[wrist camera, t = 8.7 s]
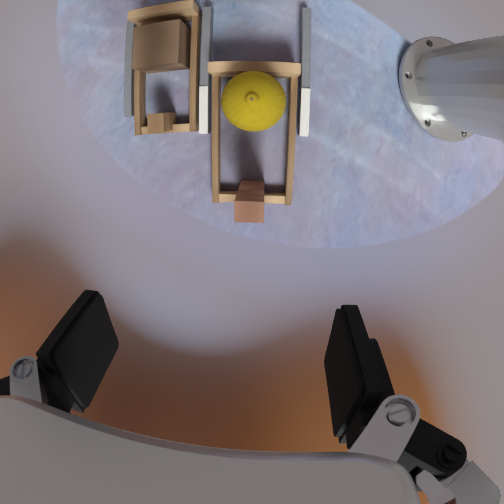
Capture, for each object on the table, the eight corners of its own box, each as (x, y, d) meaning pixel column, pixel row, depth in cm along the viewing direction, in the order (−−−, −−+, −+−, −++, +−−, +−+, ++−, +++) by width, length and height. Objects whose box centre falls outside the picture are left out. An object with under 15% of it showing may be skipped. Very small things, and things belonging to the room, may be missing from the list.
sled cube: (201, 12, 21) (193, -1, 18) (199, 130, 28) (189, 133, 24) (143, 20, 22) (128, 11, 18) (141, 134, 28) (124, 137, 24)
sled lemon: (296, 70, 24) (306, 56, 18) (289, 200, 31) (297, 227, 24) (215, 68, 25) (199, 54, 18) (215, 198, 31) (201, 223, 24)
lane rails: (308, 12, 21) (311, 7, 20) (305, 135, 27) (308, 136, 26) (205, 11, 21) (202, 6, 20) (202, 132, 28) (199, 133, 26)
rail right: (139, 20, 22) (134, 17, 20) (137, 115, 27) (131, 115, 25) (133, 22, 22) (127, 19, 20) (130, 116, 27) (124, 116, 25)
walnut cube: (191, 31, 23) (180, 19, 19) (190, 69, 25) (177, 62, 21) (150, 36, 23) (134, 27, 19) (149, 73, 25) (131, 68, 21)
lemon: (216, 111, 27) (200, 110, 20) (247, 67, 24) (241, 50, 17) (262, 139, 28) (262, 148, 21) (293, 96, 26) (304, 90, 19)
